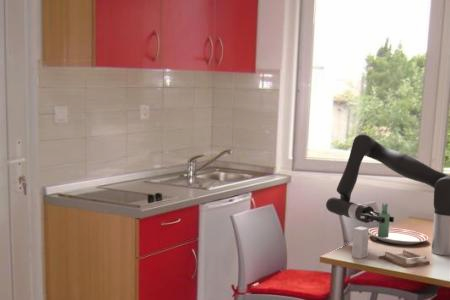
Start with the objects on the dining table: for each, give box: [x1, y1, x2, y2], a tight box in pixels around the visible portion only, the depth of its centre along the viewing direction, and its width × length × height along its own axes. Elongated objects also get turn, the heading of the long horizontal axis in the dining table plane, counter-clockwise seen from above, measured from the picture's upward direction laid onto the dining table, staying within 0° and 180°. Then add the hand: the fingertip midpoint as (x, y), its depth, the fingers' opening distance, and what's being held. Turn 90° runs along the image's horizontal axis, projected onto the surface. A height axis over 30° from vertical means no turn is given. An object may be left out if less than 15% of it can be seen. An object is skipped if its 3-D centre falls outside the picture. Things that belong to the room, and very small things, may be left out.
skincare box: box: [351, 226, 370, 260], centre depth 247 cm, size 6×4×12 cm
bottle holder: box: [378, 249, 431, 268], centre depth 243 cm, size 14×14×3 cm
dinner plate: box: [369, 227, 429, 246], centre depth 281 cm, size 27×27×3 cm
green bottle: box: [377, 203, 391, 238], centre depth 253 cm, size 4×4×14 cm
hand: (388, 220), depth 250 cm, fingers closed on green bottle, 4 cm apart
